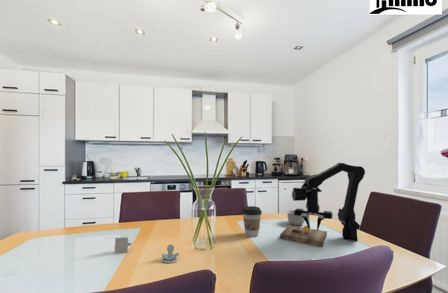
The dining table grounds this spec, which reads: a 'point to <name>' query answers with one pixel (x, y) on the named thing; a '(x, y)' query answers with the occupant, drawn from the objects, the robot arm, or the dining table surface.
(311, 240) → the pocket board
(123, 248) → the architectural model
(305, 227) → the ball
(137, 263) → the dining table surface
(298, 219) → the teacup
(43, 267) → the dining table surface
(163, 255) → the pacifier
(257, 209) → the coffee cup
